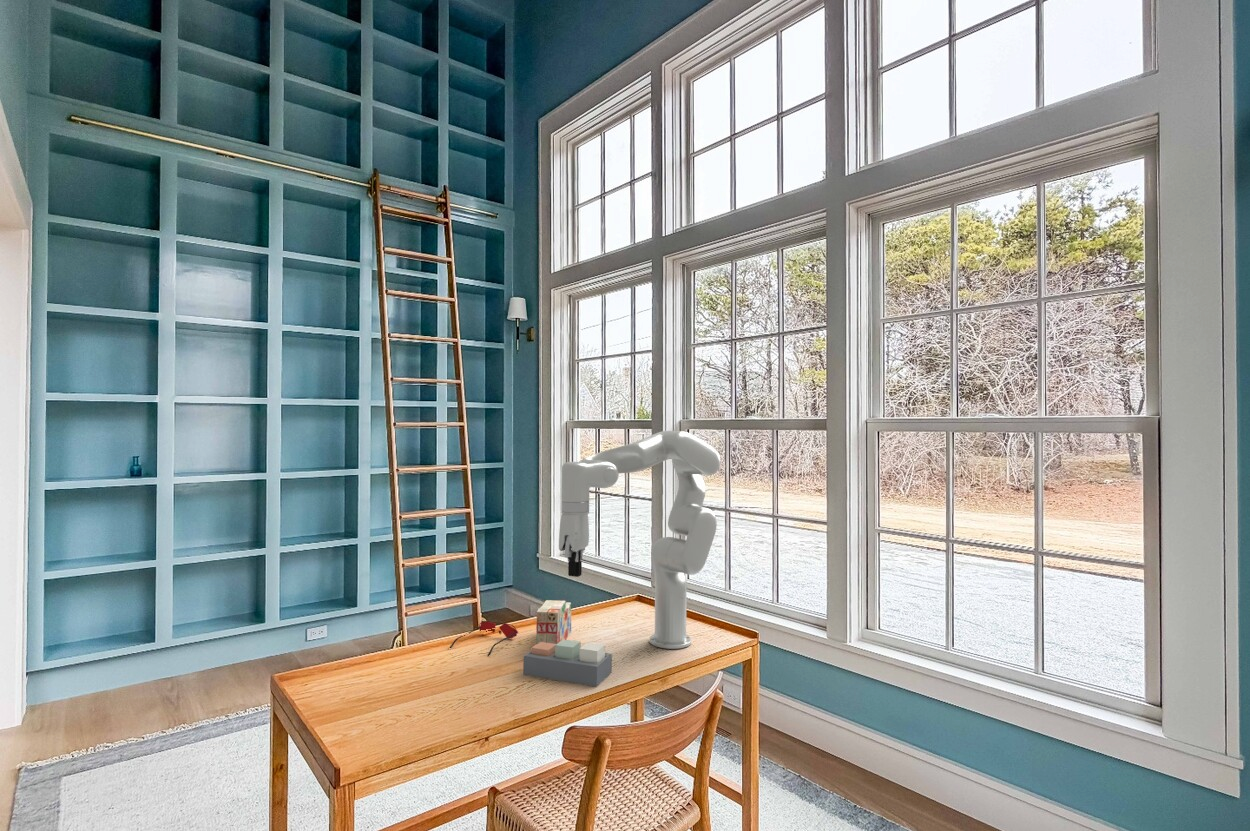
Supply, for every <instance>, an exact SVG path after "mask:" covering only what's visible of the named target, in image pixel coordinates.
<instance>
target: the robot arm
mask: <svg viewBox="0 0 1250 831" xmlns="http://www.w3.org/2000/svg"><path fill="white" fill-rule="evenodd" d="M668 460H671V463H672V466H673V468H674V470H675V473H676V475H677V479H678V488H677V489H678V490H677V493H676V496H675V499H674V501H673V504H672V507H671V510H670V513H669V515H668V520H667V526H668V528H669V530H670V532H671V533H674V534H677V535H679V536H683V537H686V539H681V538H677V537H672V536H665V537H663V536H662V537H661V538H659V539H657V541H655V543H654V544H653V546H652V551H651V558H652V564H653V570H654V582H655V583H654V584H655V586H654V634H651V635H650V636H649V643H650V644H651V645H652V646H654V647H657V648H661V649H665V650H666V649H667V650H678V649H684V648H687V647H689V646H690V645H691V644H692V637H691V636H689V635H687V592H688V590H687V586H688V585H687V579H686V575H689V576H690V575H691V576H692V575H696V574H699V573H700V572H701V571H702V570H703V568H704V567H705V564H706V562H707V559H708V557H709V553H710V551H711V547H712V545H713V541H714V538H715V535H716V532H717V518H716V515H715V513H714V511H712V509H710V508H708V507H704V506H703V504H704V500H705V497H706V485H705V481H704V480H703V477H702V476H704V477H705V476H713V475H714V474H716V473H717V472H718V471H719V469H720V467H721V456H720V454H719V453H718V451H717V450H716V449H715V448H714V447H712V445H710V444H708V443H706V442H704V441H703V440H701V439H699V437H697V436H694V435H693V434H691V433H689V432H687V431H684V430H661V431H658V432H656V433H653V434H651V435H649V436H646V437H645V438H641V439H640V440H637V441H635V442H632V443H628V444H625V445H621V446H618V447H614V448H610V449H607V450H606V449H605V450H604V451H603V450H602V451H600V452H597V453H594V454H591V455H589V456H587V457H585V458H582V459H581V460H579V461H567V462H564V463H563V464H562V466H561V508H560V509H561V510H560V511H561V512H560V514H561V516H560V522H559V530H558V531H559V532H558V534H559V536H558V550H559V551H561V552H563V551H564V557H566V558H567V562H568V567H567V568H568V569H567V570H568V571H567V574H568V576H569V577H577V578H578V577H581V576H582V573H583V572H582V566H583V564H582V563H583V562H582V561H583V553H584V551H585V550H586V547H588V546H589V543H590V528H589V527H590V526H589V514H590V488H598V489H608V488H611V487H613V486H614V485H615V484H616V483H617V481H618V479H619V474H629V473H639V472H643V471H645V470H647V469H650V468H651V467H653V466H656V465H658V464H660V463H663V462H665V461H668Z"/></svg>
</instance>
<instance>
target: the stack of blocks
mask: <svg viewBox="0 0 1250 831" xmlns="http://www.w3.org/2000/svg"><path fill="white" fill-rule="evenodd" d="M571 633H572V602H567V601H566V600H550V599H549V600H548V599H546V600H545V601H544V603H543V604H542V605H541V606H540V608H538V610H537V611H536V644H538V643H539V642H545V643H552V644H558V643H559V642H561V641H562V640H563V639H565V640H567V638H568V637H569V635H570V634H571ZM536 644H535V645H536Z"/></svg>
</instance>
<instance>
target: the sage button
mask: <svg viewBox="0 0 1250 831" xmlns="http://www.w3.org/2000/svg"><path fill="white" fill-rule="evenodd" d="M581 647H582V645H581V641H578V640H570V639H566V640H565V639H563V640H562V641H561V642H559V643H558V644H556V645H555V657H557V658H564V659H571V660H574V659H575V658H576V657H578V656H579V655H580V648H581Z"/></svg>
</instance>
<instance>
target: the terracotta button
mask: <svg viewBox="0 0 1250 831" xmlns="http://www.w3.org/2000/svg"><path fill="white" fill-rule="evenodd" d="M555 645H556V644H552V643H545V642H539V643H538V644H535V645H533V646H532V647H531V650H532V654H537V655H543V656H550V655H552V654H553V653H554V652H555Z"/></svg>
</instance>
